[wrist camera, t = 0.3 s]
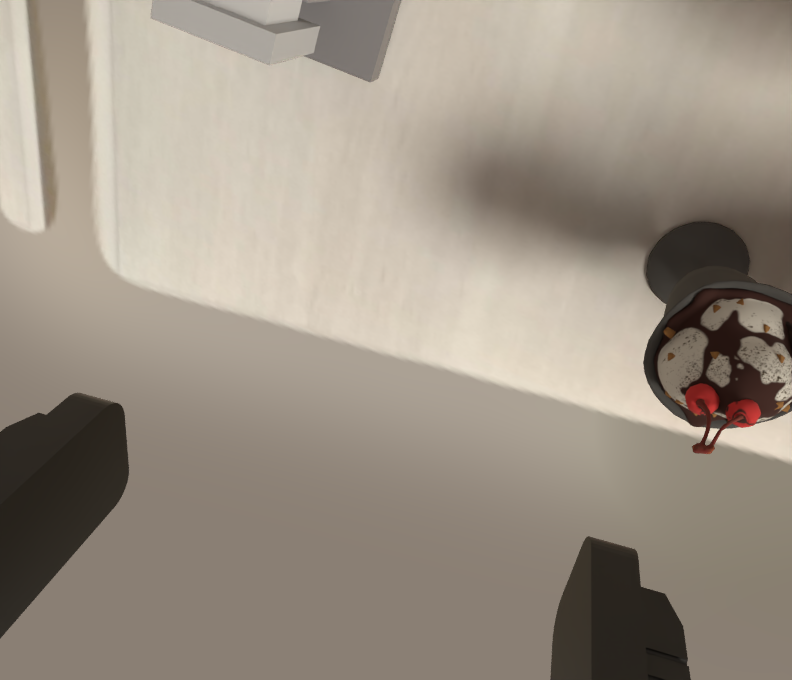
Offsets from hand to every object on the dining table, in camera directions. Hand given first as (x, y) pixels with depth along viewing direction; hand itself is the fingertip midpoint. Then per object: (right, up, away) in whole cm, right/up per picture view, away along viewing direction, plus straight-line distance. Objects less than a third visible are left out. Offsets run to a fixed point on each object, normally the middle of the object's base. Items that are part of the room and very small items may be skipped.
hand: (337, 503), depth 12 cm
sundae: (+17, +7, +25) cm, 30 cm away
